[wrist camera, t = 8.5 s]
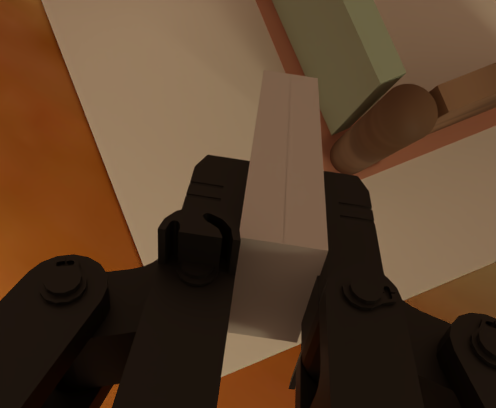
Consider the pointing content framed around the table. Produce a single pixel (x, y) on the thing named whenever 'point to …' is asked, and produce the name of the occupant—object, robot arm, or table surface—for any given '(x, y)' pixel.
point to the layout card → (245, 113)
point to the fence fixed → (412, 118)
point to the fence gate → (342, 54)
